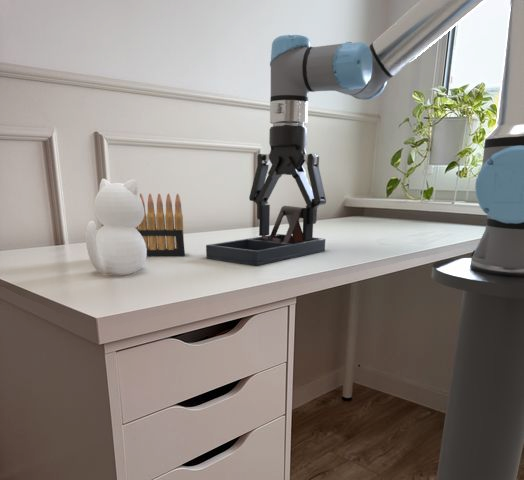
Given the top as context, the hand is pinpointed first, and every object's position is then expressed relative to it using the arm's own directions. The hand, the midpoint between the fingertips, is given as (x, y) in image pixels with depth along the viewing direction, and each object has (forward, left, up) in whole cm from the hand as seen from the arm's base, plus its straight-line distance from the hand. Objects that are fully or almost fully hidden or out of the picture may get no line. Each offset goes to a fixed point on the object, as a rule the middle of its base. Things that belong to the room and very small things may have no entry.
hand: (285, 237), depth 111 cm
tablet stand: (0, 0, -2) cm, 2 cm away
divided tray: (0, +6, -3) cm, 7 cm away
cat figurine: (+7, +39, -3) cm, 40 cm away
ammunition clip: (+16, +22, -3) cm, 27 cm away
